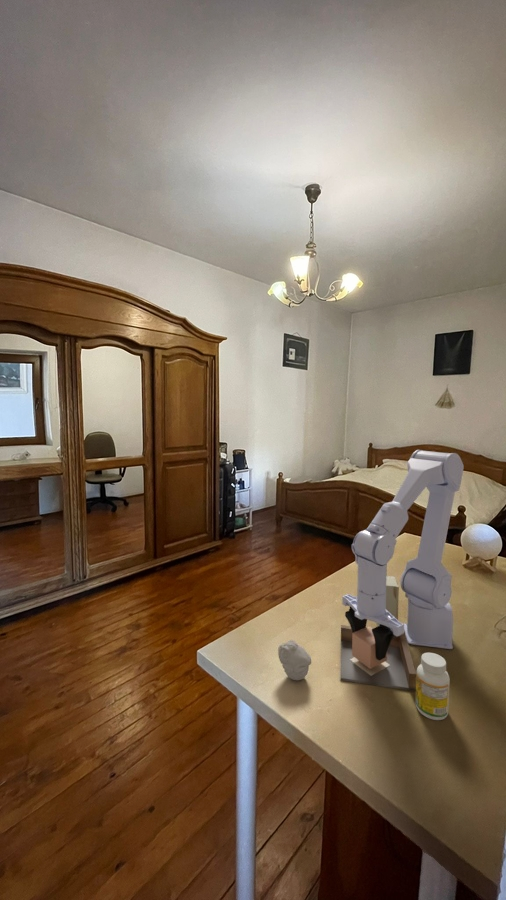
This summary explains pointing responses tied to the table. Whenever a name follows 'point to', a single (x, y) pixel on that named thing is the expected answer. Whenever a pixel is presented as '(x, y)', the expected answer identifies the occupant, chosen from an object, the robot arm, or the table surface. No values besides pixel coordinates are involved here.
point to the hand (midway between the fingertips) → (370, 650)
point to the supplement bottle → (432, 687)
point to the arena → (386, 674)
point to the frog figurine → (294, 660)
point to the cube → (365, 647)
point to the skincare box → (392, 596)
